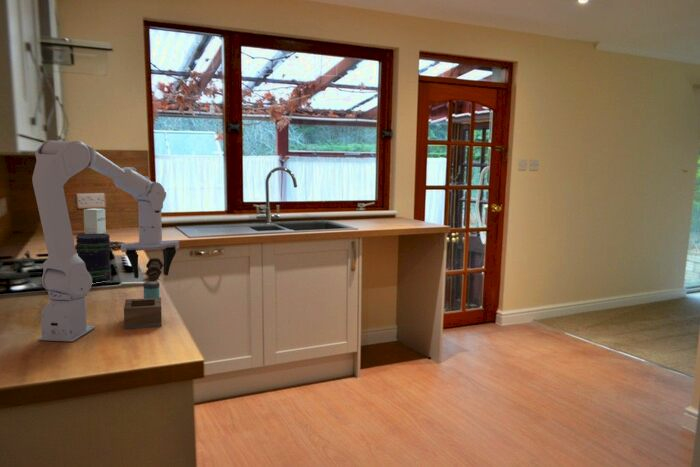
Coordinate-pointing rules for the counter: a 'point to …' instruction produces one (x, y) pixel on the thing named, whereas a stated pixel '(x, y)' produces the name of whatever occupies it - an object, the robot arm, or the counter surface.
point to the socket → (142, 313)
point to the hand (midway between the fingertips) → (151, 276)
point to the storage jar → (95, 255)
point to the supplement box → (94, 221)
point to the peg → (151, 289)
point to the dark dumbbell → (154, 268)
